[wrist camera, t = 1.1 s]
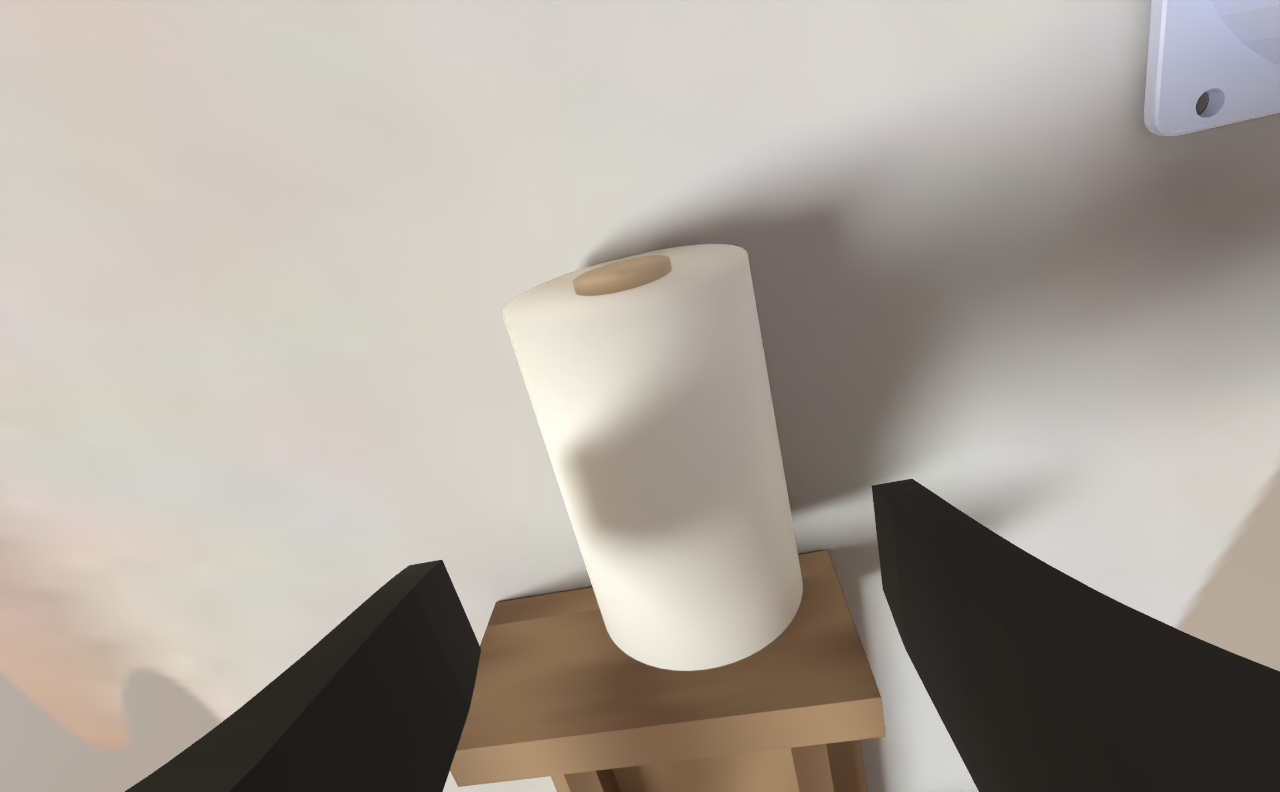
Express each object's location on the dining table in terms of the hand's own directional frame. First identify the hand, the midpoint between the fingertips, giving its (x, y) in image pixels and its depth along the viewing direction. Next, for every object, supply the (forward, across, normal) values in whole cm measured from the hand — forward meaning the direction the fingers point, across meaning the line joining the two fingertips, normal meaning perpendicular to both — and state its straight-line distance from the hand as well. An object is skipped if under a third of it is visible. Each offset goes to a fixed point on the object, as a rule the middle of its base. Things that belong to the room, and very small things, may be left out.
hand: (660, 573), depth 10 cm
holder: (+6, +1, +12) cm, 14 cm away
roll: (+7, 0, 0) cm, 7 cm away
